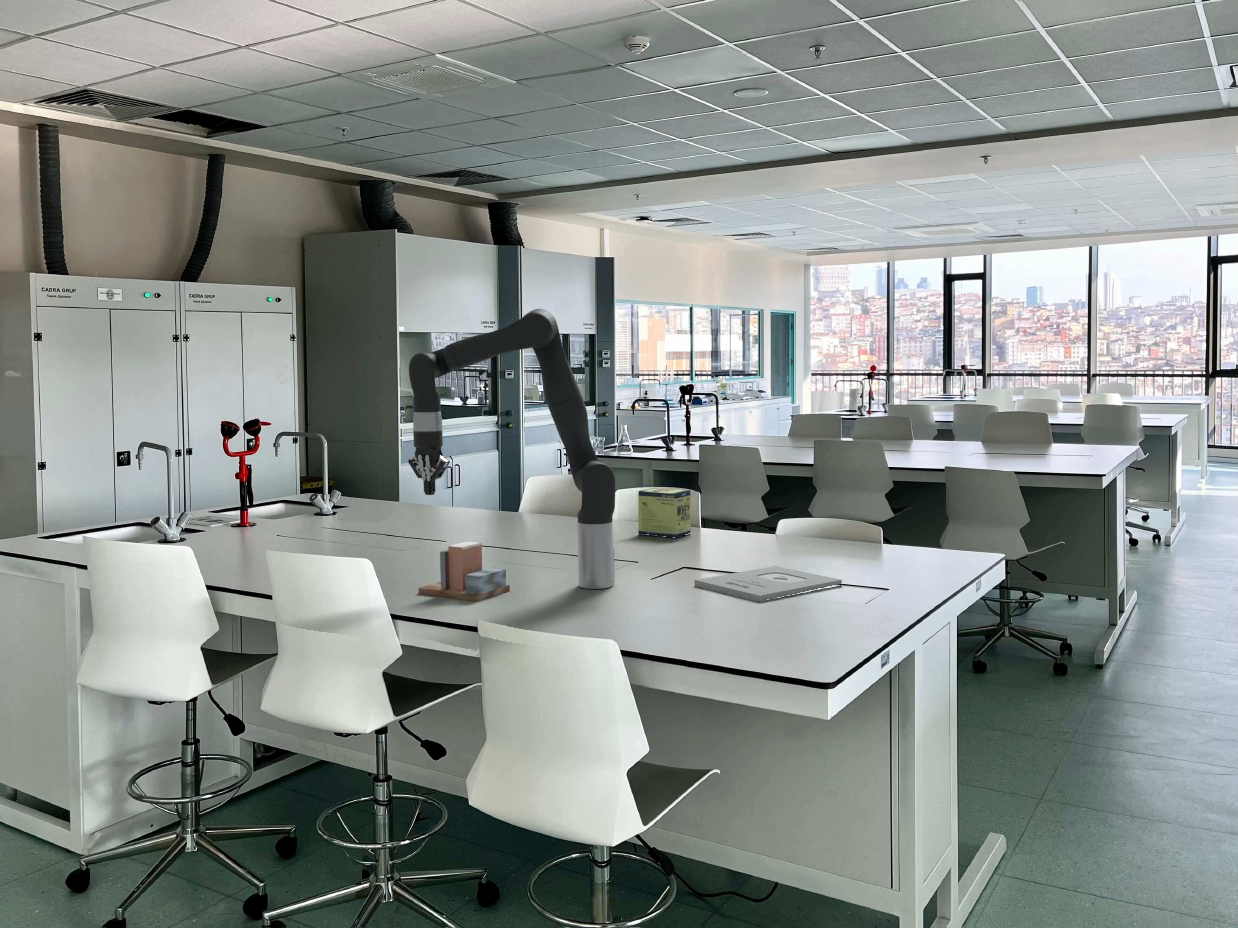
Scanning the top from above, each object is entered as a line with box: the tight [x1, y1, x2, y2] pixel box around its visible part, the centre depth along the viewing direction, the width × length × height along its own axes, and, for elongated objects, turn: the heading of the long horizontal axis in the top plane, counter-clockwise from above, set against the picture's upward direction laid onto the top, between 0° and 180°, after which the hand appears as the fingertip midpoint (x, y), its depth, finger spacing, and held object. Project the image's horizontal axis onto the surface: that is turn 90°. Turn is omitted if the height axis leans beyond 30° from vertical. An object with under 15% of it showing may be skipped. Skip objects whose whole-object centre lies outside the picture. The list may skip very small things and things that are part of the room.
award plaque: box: [694, 565, 843, 602], centre depth 275 cm, size 25×30×2 cm
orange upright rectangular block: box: [447, 541, 483, 591], centre depth 270 cm, size 8×5×11 cm, turn 148°
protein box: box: [637, 487, 692, 539], centre depth 360 cm, size 10×16×16 cm
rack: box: [417, 567, 511, 602], centre depth 271 cm, size 14×19×6 cm
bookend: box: [439, 549, 449, 589], centre depth 272 cm, size 11×2×10 cm, turn 149°
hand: (429, 494), depth 275 cm, fingers closed
